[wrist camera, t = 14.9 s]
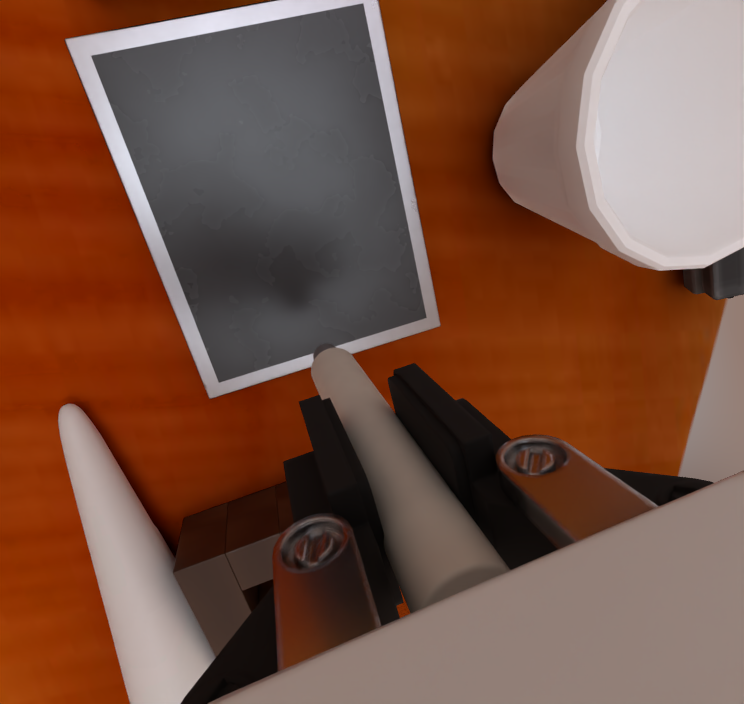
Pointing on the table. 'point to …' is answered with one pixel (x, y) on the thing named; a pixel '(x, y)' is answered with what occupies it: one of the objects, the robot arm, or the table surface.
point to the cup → (637, 133)
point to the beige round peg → (406, 491)
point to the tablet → (266, 180)
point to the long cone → (132, 573)
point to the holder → (230, 560)
